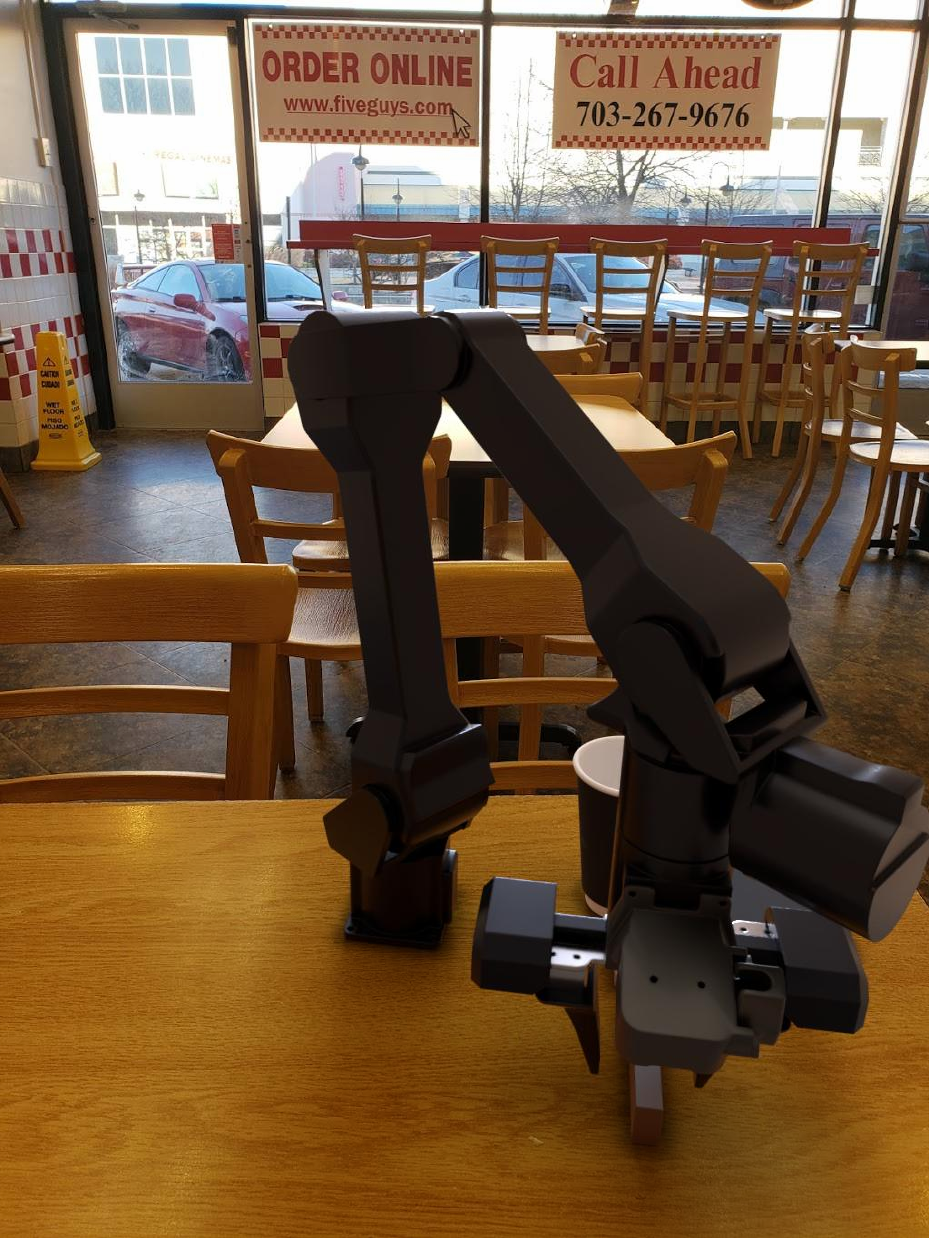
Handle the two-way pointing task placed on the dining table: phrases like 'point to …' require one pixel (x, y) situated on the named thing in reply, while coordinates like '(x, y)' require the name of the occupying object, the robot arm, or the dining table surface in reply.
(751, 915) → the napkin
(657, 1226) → the dining table surface
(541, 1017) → the dining table surface
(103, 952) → the dining table surface
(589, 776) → the dixie cup
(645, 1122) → the fork
